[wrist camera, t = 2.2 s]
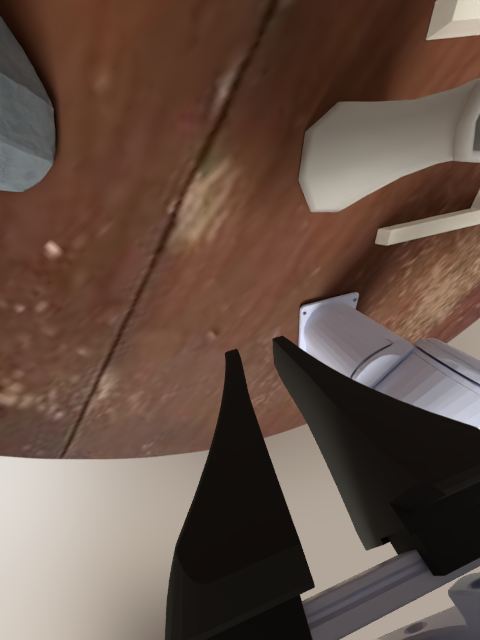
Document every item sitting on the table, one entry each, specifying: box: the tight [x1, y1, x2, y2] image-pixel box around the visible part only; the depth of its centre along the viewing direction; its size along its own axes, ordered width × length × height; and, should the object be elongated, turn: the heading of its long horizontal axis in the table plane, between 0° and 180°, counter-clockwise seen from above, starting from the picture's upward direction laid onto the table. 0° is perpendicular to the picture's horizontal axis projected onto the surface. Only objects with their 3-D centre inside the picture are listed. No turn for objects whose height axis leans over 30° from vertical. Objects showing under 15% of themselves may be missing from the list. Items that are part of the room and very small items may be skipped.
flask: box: [298, 77, 480, 212], centre depth 11 cm, size 7×7×10 cm
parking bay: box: [375, 0, 480, 246], centre depth 16 cm, size 15×14×2 cm
